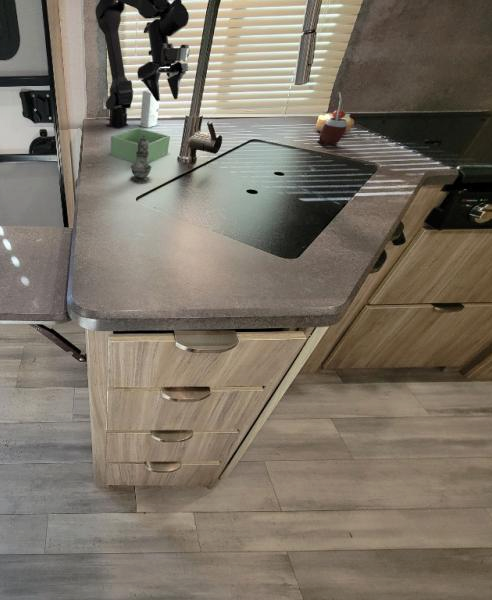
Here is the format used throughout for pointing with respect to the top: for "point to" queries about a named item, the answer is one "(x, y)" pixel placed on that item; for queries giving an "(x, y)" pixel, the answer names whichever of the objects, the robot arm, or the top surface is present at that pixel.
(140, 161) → the grey tall ornate piece
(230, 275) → the top surface
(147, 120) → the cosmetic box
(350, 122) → the pastry
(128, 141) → the green open box
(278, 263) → the top surface
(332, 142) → the mate gourd
